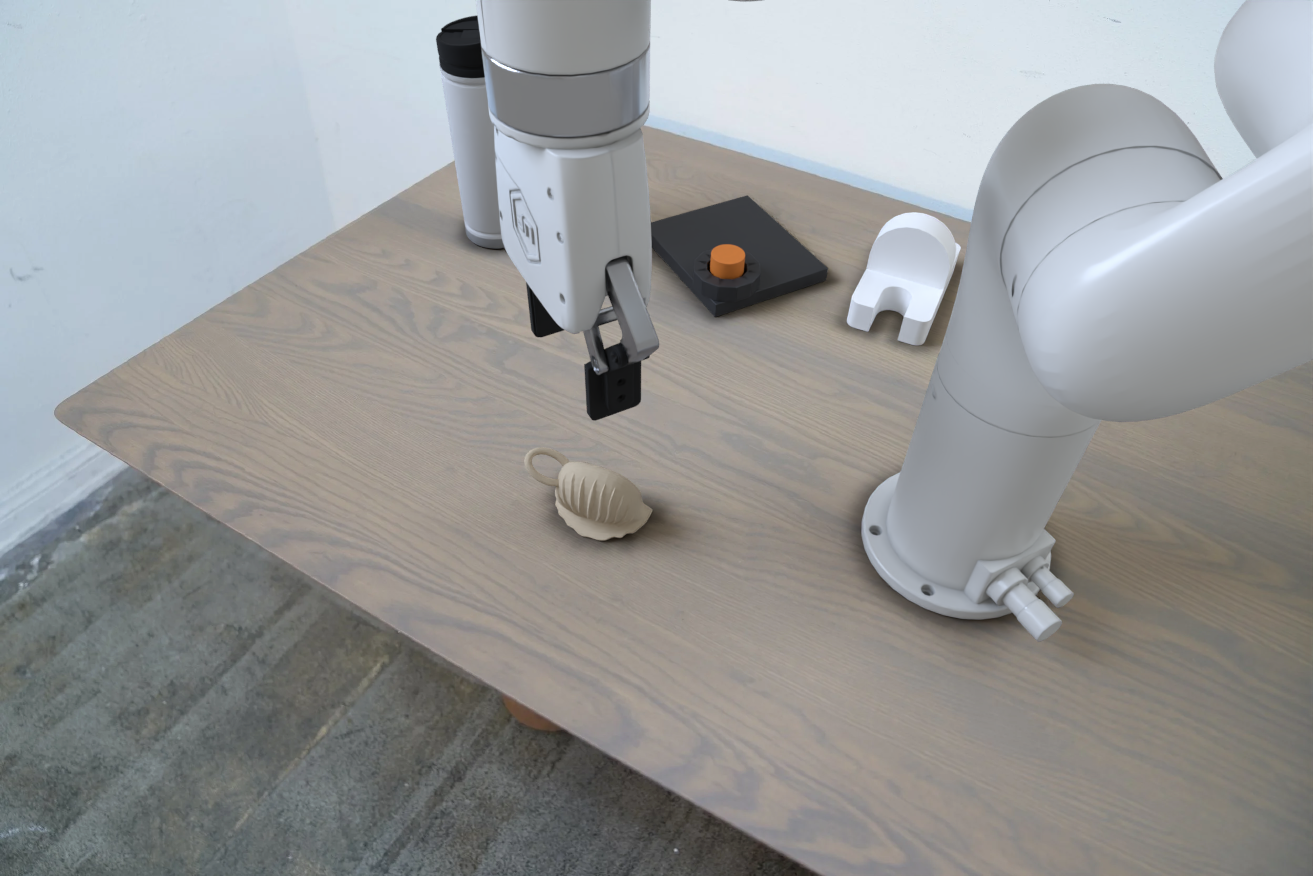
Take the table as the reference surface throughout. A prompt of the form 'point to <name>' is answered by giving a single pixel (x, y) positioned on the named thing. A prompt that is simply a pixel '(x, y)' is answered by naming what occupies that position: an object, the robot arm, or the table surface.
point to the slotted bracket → (906, 275)
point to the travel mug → (470, 129)
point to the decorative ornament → (593, 497)
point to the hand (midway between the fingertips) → (584, 366)
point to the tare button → (727, 261)
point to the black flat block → (743, 223)
